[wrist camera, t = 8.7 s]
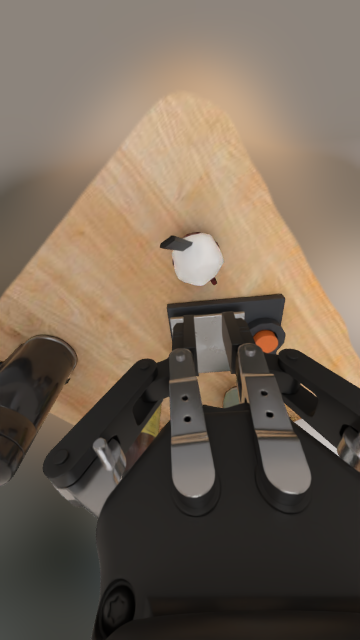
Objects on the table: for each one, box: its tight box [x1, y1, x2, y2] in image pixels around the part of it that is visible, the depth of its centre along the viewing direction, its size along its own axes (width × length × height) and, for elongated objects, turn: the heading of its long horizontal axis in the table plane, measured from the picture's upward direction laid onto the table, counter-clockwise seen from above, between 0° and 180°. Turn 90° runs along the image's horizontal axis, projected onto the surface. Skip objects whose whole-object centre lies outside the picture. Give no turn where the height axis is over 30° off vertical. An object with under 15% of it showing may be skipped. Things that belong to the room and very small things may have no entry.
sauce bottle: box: [122, 404, 161, 478], centre depth 40 cm, size 6×6×20 cm
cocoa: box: [160, 232, 224, 286], centre depth 27 cm, size 10×6×12 cm, turn 14°
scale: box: [167, 294, 285, 354], centre depth 38 cm, size 18×13×3 cm
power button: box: [253, 330, 278, 353], centre depth 36 cm, size 4×4×2 cm
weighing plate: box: [170, 311, 245, 373], centre depth 37 cm, size 11×12×1 cm
